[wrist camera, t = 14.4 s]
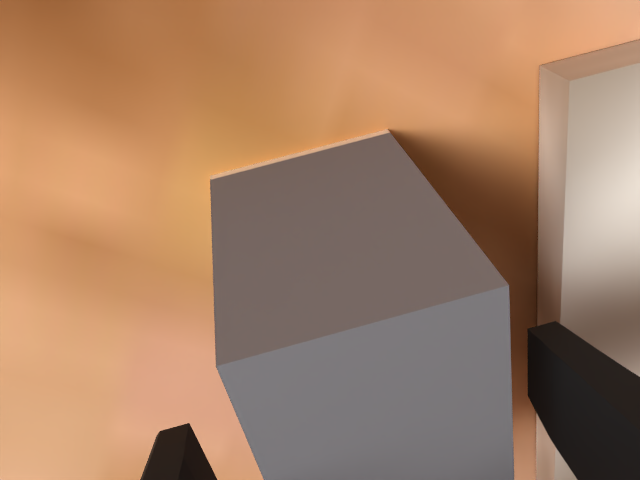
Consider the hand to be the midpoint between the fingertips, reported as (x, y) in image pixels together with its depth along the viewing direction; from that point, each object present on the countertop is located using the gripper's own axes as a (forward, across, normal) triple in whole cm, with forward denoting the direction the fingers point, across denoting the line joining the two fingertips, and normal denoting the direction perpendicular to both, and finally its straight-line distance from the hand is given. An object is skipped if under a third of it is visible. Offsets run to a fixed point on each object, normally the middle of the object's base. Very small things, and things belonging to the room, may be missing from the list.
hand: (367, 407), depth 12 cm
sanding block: (+4, 0, 0) cm, 4 cm away
